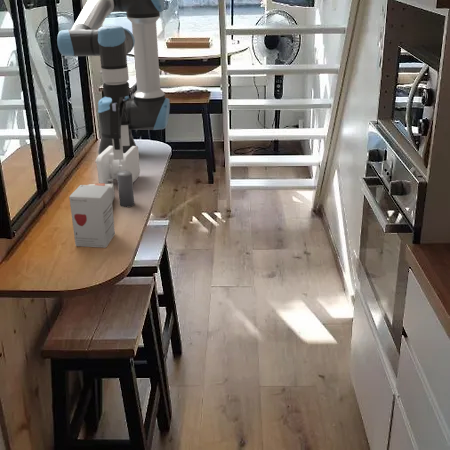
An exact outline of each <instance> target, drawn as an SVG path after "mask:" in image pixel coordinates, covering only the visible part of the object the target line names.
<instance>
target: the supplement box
mask: <svg viewBox="0 0 450 450" xmlns="http://www.w3.org/2000/svg"><path fill="white" fill-rule="evenodd" d="M68 198H69V204H70V205H69V206H70V212H71V219H72V230H73V235H74V245H75V247H84V248H85V247H89V248H105V249H106V248H107V247H108V245H109V244H110V243H111V241H112V240H113V238H114V236H115V235H116V229H115V221H114V220H115V219H114V210H113V202H112V197H111V186H98V185H89V184H80V185H79V186H78V187H77V188H76V189H75V190H74V191H73V192H72V193H70V195H69V197H68Z"/></svg>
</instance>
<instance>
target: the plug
mask: <svg viewBox="0 0 450 450" xmlns="http://www.w3.org/2000/svg"><path fill="white" fill-rule="evenodd" d="M116 180H117V190H118V200H119V206H120V207H122V208H130V207H133V206H134V205H135V196H134V194H135V193H134V182H133V181H132V173H131V172H130V171H121V172H119V173H118V174H117V179H116Z"/></svg>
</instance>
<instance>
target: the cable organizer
mask: <svg viewBox="0 0 450 450" xmlns="http://www.w3.org/2000/svg"><path fill="white" fill-rule="evenodd" d="M139 154H140V153H139V147H138V146H137V145H136V146H132V147H131V148H130V149H129V150H128V151H127V152H126V153H123V157H124V159H123V160H114V154H113V146H109V147H107V148H106V149H105V150H104V151H103V152H102V153H101V154H100V155H99V154H98V155H97V156H96V159H95V164H96V168H97V169H96V170H97V179H98V183H105V184H114V180H117V174H118V173H119V172H121V171H130V172H131V173H132V181H133V183H135V182H136V181H137V179H138V177H139V176H140V173H141V169H140V168H141V166H140V155H139Z"/></svg>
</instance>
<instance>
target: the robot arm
mask: <svg viewBox="0 0 450 450" xmlns="http://www.w3.org/2000/svg"><path fill="white" fill-rule="evenodd" d="M164 3H165V1H164V0H85V4H84V5H83V8H82V10H81V11H80V13H79V15H78V17H77V19H76V20H75V22H74V24H73V25H72V27H71V28H70V29H68V28H67V29H61V30H60V31H58V34H57V39H56V41H57V44H56V45H57V48H58V51H59V53H60V55H61V56H64V57H65V56H66V57H73V58H74V57H95V56H96V57H99V58H100V66H101V67H100V68H101V70H100V71H99V74H100V75H101V78H102V82H103V83H102V91H103V97H102V98H100V99H99V100H98V102H97V107H98V108H97V109H98V110H97V113H98V119H99V120H98V121H99V126H100V127H99V128H100V142H99V146H98V151H97V153H98V155H100V154H101V153H102V152H103V151H104V150H105V149H106V148H107V147H109V146H113V154H114V160H123V159H124V157H123V153H126V152H127V151H128V150H129V149H130V148H131V147H132V146H137V144H136V142H135V140H134V137H133V135H132V134H133V133H132V131H133V130H140V131H141V130H145V131H146V130H148V131H151V130H152V131H156V130H164V129H166V127H167V125H168V122H169V118H170V117H169V116H170V109H171V103H170V102H171V101H170V98H167V97H166V93H165V92H164V91H163V90H162V89H161V79H160V78H161V77H160V76H161V75H160V66H159V65H160V63H159V62H160V61H159V49H158V48H159V47H158V31H157V21H158V20H159V18H160V17H161V13H162V12H164V10H165V4H164ZM112 13H125V14H126V18H127V20H129V21H130V22H131V29H132V30H129V29H128V28H124V27H123V26H121V25H105V26H103V24H104V22H105V20H106V18H107V17H108V16H109V15H111V14H112ZM131 31H132V32H131ZM132 50H133V55H134V67H135V68H134V69H135V79H136V90H135V92H134V93H133V98H130V96H129V95H130V92H131V91H130V83H129V82H128V81H129V77H130V76H129V66H128V59H127V58H128V57H127V55H128V54H129V53H131V52H132Z"/></svg>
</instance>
